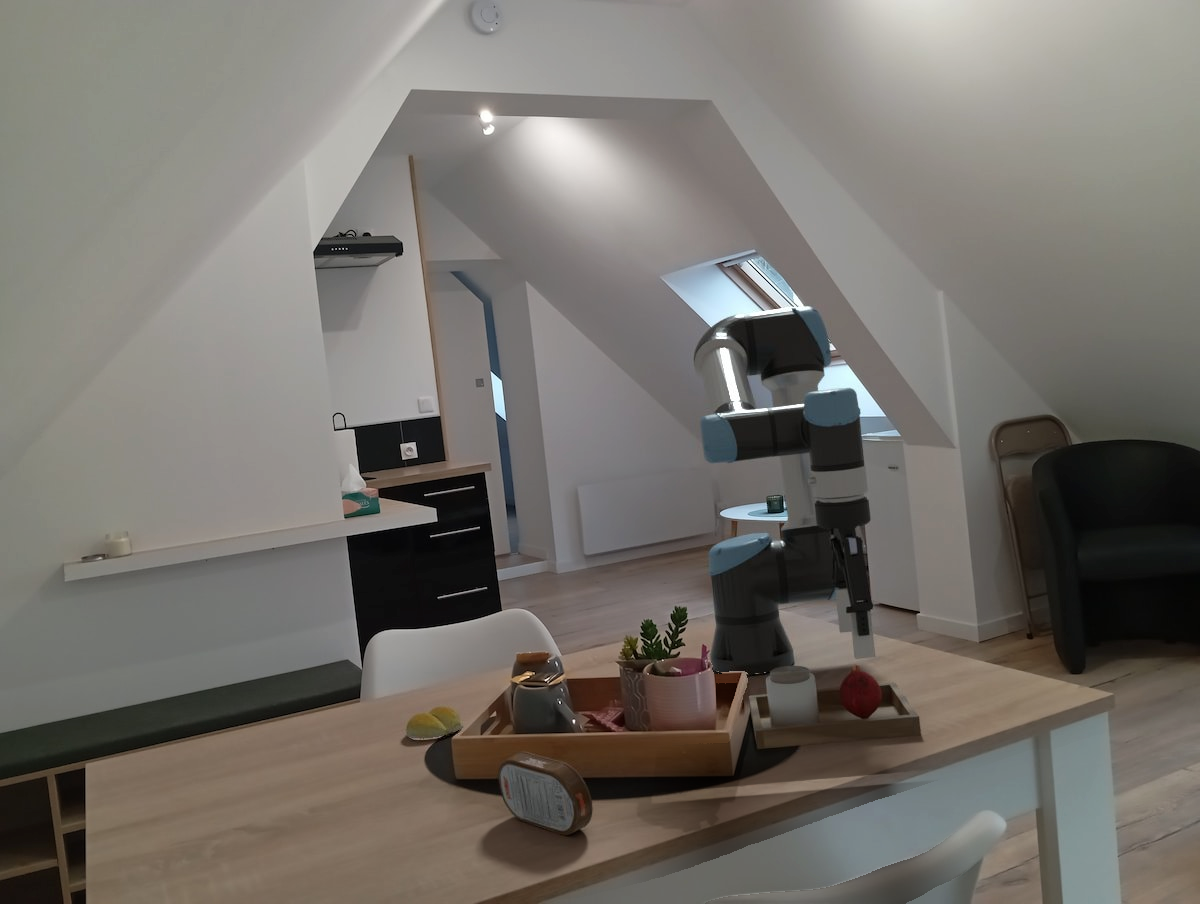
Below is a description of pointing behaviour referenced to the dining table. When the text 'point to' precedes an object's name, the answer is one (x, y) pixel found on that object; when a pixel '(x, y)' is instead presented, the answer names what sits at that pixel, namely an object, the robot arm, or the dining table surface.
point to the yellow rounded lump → (434, 723)
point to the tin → (545, 793)
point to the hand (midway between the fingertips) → (856, 643)
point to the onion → (860, 693)
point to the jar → (792, 696)
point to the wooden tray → (837, 721)
